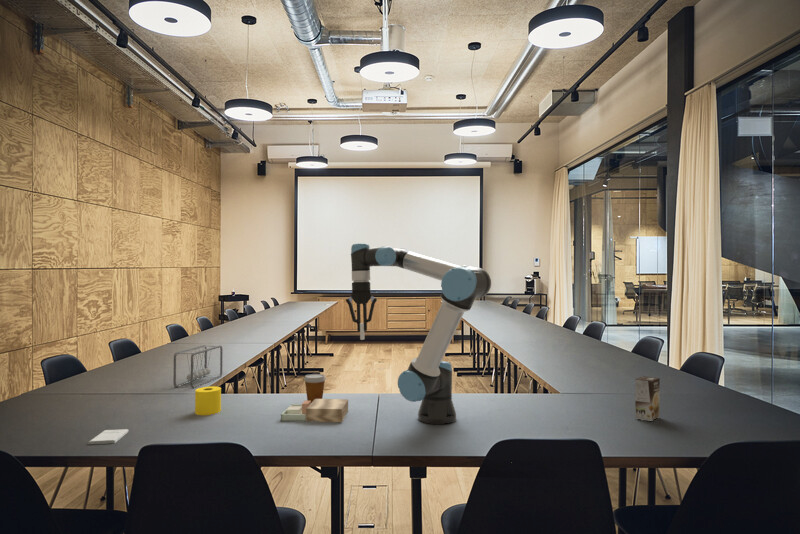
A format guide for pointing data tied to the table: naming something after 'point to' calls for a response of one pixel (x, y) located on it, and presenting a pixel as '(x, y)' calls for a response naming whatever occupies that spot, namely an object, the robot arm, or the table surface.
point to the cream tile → (294, 410)
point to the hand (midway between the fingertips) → (362, 339)
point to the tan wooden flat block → (327, 410)
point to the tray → (293, 415)
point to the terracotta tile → (305, 406)
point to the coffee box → (647, 398)
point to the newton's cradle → (199, 373)
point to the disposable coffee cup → (314, 386)
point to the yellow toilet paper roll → (207, 400)
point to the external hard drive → (108, 436)
